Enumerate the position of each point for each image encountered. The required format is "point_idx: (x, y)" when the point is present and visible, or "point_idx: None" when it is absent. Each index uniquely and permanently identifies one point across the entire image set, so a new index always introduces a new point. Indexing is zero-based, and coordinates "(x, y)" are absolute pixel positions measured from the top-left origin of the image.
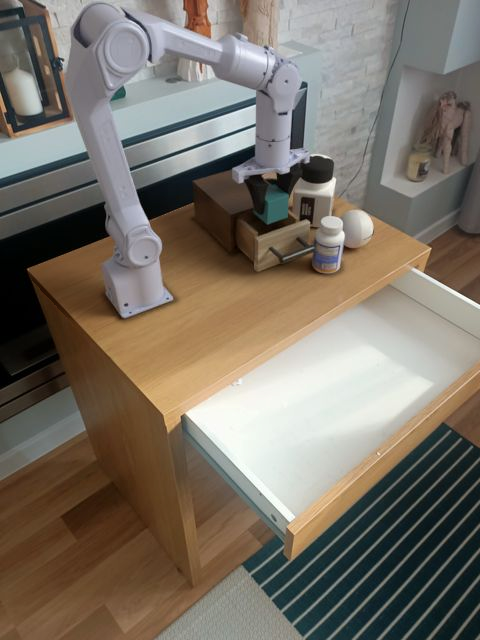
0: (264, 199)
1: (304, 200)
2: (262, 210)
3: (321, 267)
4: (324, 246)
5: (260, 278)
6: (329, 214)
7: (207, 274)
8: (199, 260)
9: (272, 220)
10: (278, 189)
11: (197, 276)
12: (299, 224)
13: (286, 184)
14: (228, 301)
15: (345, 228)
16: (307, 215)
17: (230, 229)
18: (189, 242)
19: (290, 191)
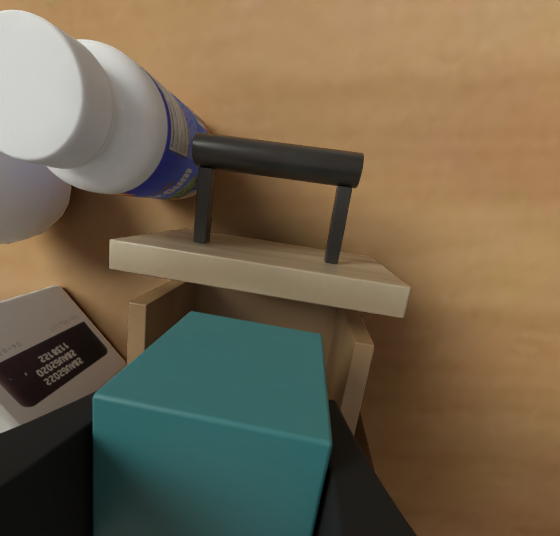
0: (338, 493)
1: (32, 390)
2: (334, 415)
3: (205, 130)
4: (161, 95)
5: (370, 239)
6: (10, 298)
7: (471, 352)
8: (439, 411)
9: (287, 334)
10: (114, 510)
11: (499, 364)
12: (162, 258)
13: (4, 528)
14: (526, 218)
15: (7, 164)
16: (72, 348)
17: (366, 441)
18: (400, 481)
19: (46, 425)
